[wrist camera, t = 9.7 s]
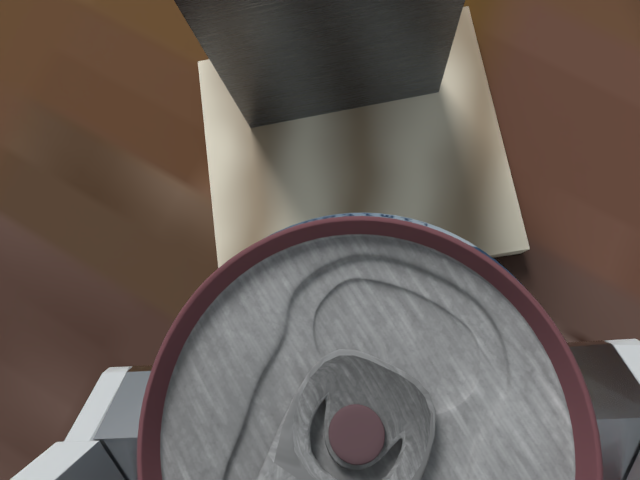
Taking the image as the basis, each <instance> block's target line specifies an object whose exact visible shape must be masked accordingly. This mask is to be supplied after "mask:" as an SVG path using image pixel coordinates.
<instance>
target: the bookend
mask: <svg viewBox="0 0 640 480" xmlns="http://www.w3.org/2000/svg"><path fill="white" fill-rule="evenodd" d="M174 1H175V2H176V4H177V6H178V7H179V9H180V11H181V13H182V14H183V16H184V18H185V19H186V21H187V23H188V24H189V26H190V28H191V29H192V31H193V33H194V34H195V36H196V38H197V39H198V41H199V43H200V44H201V46H202V48H203V49H204V51H205V53H206V54H207V56H208V58H209V59H210V61H211V63H212V64H213V66H214V68H215V70H216V71H217V73H218V75H219V76H220V78H221V80H222V81H223V83H224V85H225V86H226V88H227V90H228V91H229V93H230V95H231V96H232V98H233V100H234V101H235V103H236V105H237V106H238V108H239V110H240V111H241V113H242V115H243V116H244V118H245V120H246V121H247V123H248V125H249V127H250V128H254V127H259V126H264V125H270V124H275V123H280V122H285V121H291V120H296V119H301V118H306V117H311V116H317V115H322V114H327V113H332V112H338V111H343V110H348V109H353V108H359V107H364V106H369V105H374V104H379V103H385V102H390V101H395V100H400V99H406V98H411V97H416V96H421V95H427V94H432V93H437V92H439V89H440V86H441V82H442V79H443V75H444V72H445V68H446V65H447V61H448V58H449V54H450V51H451V47H452V44H453V40H454V37H455V33H456V30H457V26H458V23H459V19H460V16H461V12H462V9H463V5H464V2H465V0H174Z"/></svg>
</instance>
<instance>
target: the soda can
mask: <svg viewBox="0 0 640 480" xmlns="http://www.w3.org/2000/svg"><path fill="white" fill-rule="evenodd" d="M137 477H138V480H603V463H602V450H601V443H600V435H599V430H598V425H597V420H596V416H595V411H594V408H593V404H592V401H591V398H590V394H589V391H588V388H587V386H586V383H585V380H584V378H583V375H582V373H581V370H580V368H579V366H578V364H577V362H576V359H575V357H574V355H573V353H572V352H571V350H570V348H569V346H568V344H567V342H566V341H565V339H564V337H563V336H562V334H561V333H560V331H559V329H558V328H557V326H556V325H555V323H554V322H553V320H552V319H551V318H550V316H549V315H548V314H547V312H546V311H545V310H544V308H543V307H542V306H541V305H540V304H539V302H538V301H537V300H536V299H535V298H534V297H533V296H532V294H531V293H530V292H529V291H528V290H527V289H526V288H525V287H524V286H523V285H522V284H521V283H520V282H519V281H518V280H517V279H516V278H515V277H514V276H513V275H512V274H511V273H510V272H509V271H508V270H507V269H506V268H505V267H503V266H502V265H501V264H500V263H499V262H498V261H496V260H495V259H494V258H492V257H491V256H490V255H488V254H487V253H486V252H484V251H483V250H481V249H480V248H478V247H476V246H475V245H473V244H472V243H470V242H468V241H467V240H465V239H463V238H461V237H459V236H457V235H455V234H453V233H451V232H449V231H446V230H444V229H442V228H440V227H437V226H434V225H431V224H428V223H426V222H422V221H419V220H415V219H411V218H407V217H402V216H397V215H390V214H382V213H344V214H335V215H329V216H323V217H318V218H314V219H311V220H307V221H303V222H300V223H297V224H294V225H292V226H289V227H287V228H284V229H282V230H280V231H277V232H275V233H273V234H271V235H269V236H267V237H265V238H264V239H262V240H260V241H258V242H256V243H254V244H252V245H251V246H249V247H247V248H246V249H244V250H242V251H241V252H239V253H238V254H236V255H235V256H234V257H232V258H231V259H229V260H228V261H227V262H225V263H224V264H223V265H222V266H221V267H219V268H218V269H217V270H216V271H215V272H214V273H212V274H211V275H210V276H209V277H208V278H207V279H206V280H205V281H204V282H203V283H202V284H201V285H200V287H199V288H198V289H197V290H196V291H195V292H194V293H193V295H192V296H191V297H190V299H189V300H188V301H187V303H186V304H185V305H184V306H183V308H182V309H181V311H180V313H179V314H178V316H177V317H176V319H175V320H174V322H173V324H172V326H171V327H170V329H169V331H168V333H167V335H166V336H165V339H164V341H163V343H162V345H161V347H160V349H159V351H158V354H157V356H156V359H155V362H154V364H153V367H152V370H151V373H150V376H149V379H148V382H147V385H146V390H145V394H144V398H143V402H142V407H141V413H140V419H139V428H138V438H137Z"/></svg>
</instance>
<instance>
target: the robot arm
mask: <svg viewBox="0 0 640 480" xmlns="http://www.w3.org/2000/svg"><path fill="white" fill-rule="evenodd" d="M567 344H568V346H569V348H570V350H571V352H572V353H573V355H574V357H575V359H576V362H577V364H578V366H579V368H580V370H581V373H582V375H583V378H584V380H585V383H586V386H587V388H588V391H589V394H590V398H591V401H592V404H593V408H594V411H595V416H596V420H597V425H598V430H599V435H600V443H601V450H602V463H603V480H640V341H638V340H637V339H623V340H606V341H602V340H601V341H586V342H571V343H567ZM152 367H153V366H130V367H109V368H108V369H107V370H106V371H104V372H103V373H102V375H101V376H100V378H99V380H98V382H97V384H96V385H95V387H94V389H93V391H92V392H91V394H90V396H89V398H88V400H87V401H86V403H85V405H84V407H83V408H82V410H81V412H80V414H79V416H78V417H77V419H76V421H75V423H74V424H73V426H72V428H71V430H70V432H69V433H68V435H67V437H66V439H65V441H64V442H56V443H55V444H54V445H52V446H51V447H50V448H49V449H47V450H46V451H45V452H44V453H42V454H41V455H40V456H39V457H37V458H36V459H35V460H34V461H32V462H31V463H30V464H29V465H28V466H26V467H25V468H24V469H23V470H21V471H20V472H19V473H18V474H16V475H15V476H14V477H13V478H11V479H10V480H138V477H137V438H138V428H139V419H140V413H141V407H142V402H143V398H144V394H145V390H146V385H147V382H148V379H149V376H150V373H151V370H152Z"/></svg>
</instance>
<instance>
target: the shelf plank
mask: <svg viewBox="0 0 640 480" xmlns="http://www.w3.org/2000/svg"><path fill="white" fill-rule="evenodd" d="M198 68H199V78H200V88H201V98H202V108H203V118H204V128H205V138H206V148H207V158H208V168H209V178H210V189H211V199H212V209H213V219H214V229H215V239H216V249H217V259H218V268H219V267H221V266H222V265H223V264H224V263H225V262H227V261H228V260H229V259H231V258H232V257H234V256H235V255H236V254H238V253H239V252H241V251H242V250H244V249H246V248H247V247H249V246H251V245H252V244H254V243H256V242H258V241H260V240H262V239H264V238H265V237H267V236H269V235H271V234H273V233H275V232H277V231H280V230H282V229H284V228H287V227H289V226H292V225H294V224H297V223H300V222H303V221H307V220H311V219H314V218H318V217H323V216H329V215H335V214H344V213H382V214H390V215H397V216H402V217H407V218H411V219H415V220H419V221H422V222H426V223H428V224H431V225H434V226H437V227H440V228H442V229H444V230H446V231H449V232H451V233H453V234H455V235H457V236H459V237H461V238H463V239H465V240H467V241H468V242H470V243H472V244H473V245H475V246H476V247H478V248H480V249H481V250H483V251H484V252H486V253H487V254H488V255H490V256H491V257H492V258H495V257H501V256H508V255H514V254H520V253H523V252H525V251H527V250H529V249H530V247H529V244H528V240H527V236H526V232H525V228H524V224H523V220H522V216H521V212H520V208H519V204H518V200H517V196H516V192H515V188H514V184H513V180H512V176H511V172H510V169H509V165H508V161H507V157H506V153H505V149H504V145H503V141H502V137H501V133H500V129H499V125H498V121H497V117H496V113H495V109H494V105H493V101H492V98H491V94H490V90H489V86H488V82H487V78H486V74H485V70H484V66H483V62H482V58H481V54H480V50H479V46H478V42H477V38H476V34H475V30H474V26H473V23H472V19H471V15H470V11H469V7H468V6H467V7H463V9H462V12H461V16H460V19H459V23H458V26H457V30H456V33H455V37H454V40H453V44H452V47H451V51H450V54H449V58H448V61H447V65H446V68H445V72H444V75H443V79H442V82H441V86H440V89H439V92H437V93H432V94H427V95H421V96H416V97H411V98H406V99H400V100H395V101H390V102H385V103H379V104H374V105H369V106H364V107H359V108H353V109H348V110H343V111H338V112H332V113H327V114H322V115H317V116H311V117H306V118H301V119H296V120H291V121H285V122H280V123H275V124H270V125H264V126H259V127H254V128H250V127H249V125H248V123H247V121H246V120H245V118H244V116H243V115H242V113H241V111H240V110H239V108H238V106H237V105H236V103H235V101H234V100H233V98H232V96H231V95H230V93H229V91H228V90H227V88H226V86H225V85H224V83H223V81H222V80H221V78H220V76H219V75H218V73H217V71H216V70H215V68H214V66H213V64H212V63H211V61H210V59H209V60H204V61H199V62H198Z"/></svg>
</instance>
